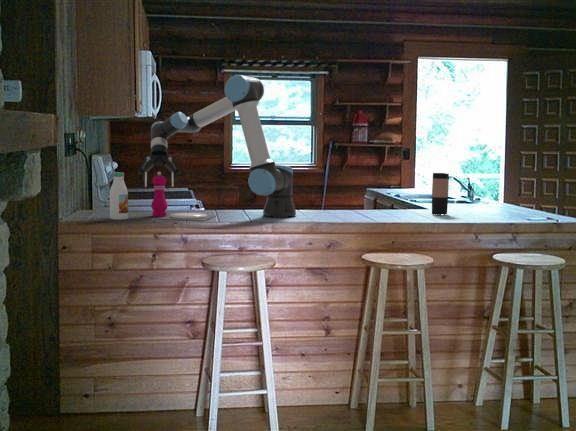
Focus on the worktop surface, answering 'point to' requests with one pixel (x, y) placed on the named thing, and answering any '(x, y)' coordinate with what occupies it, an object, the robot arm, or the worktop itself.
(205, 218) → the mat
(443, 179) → the travel mug
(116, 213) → the milk bottle
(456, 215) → the worktop surface
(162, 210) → the pepper mill
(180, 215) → the plate
